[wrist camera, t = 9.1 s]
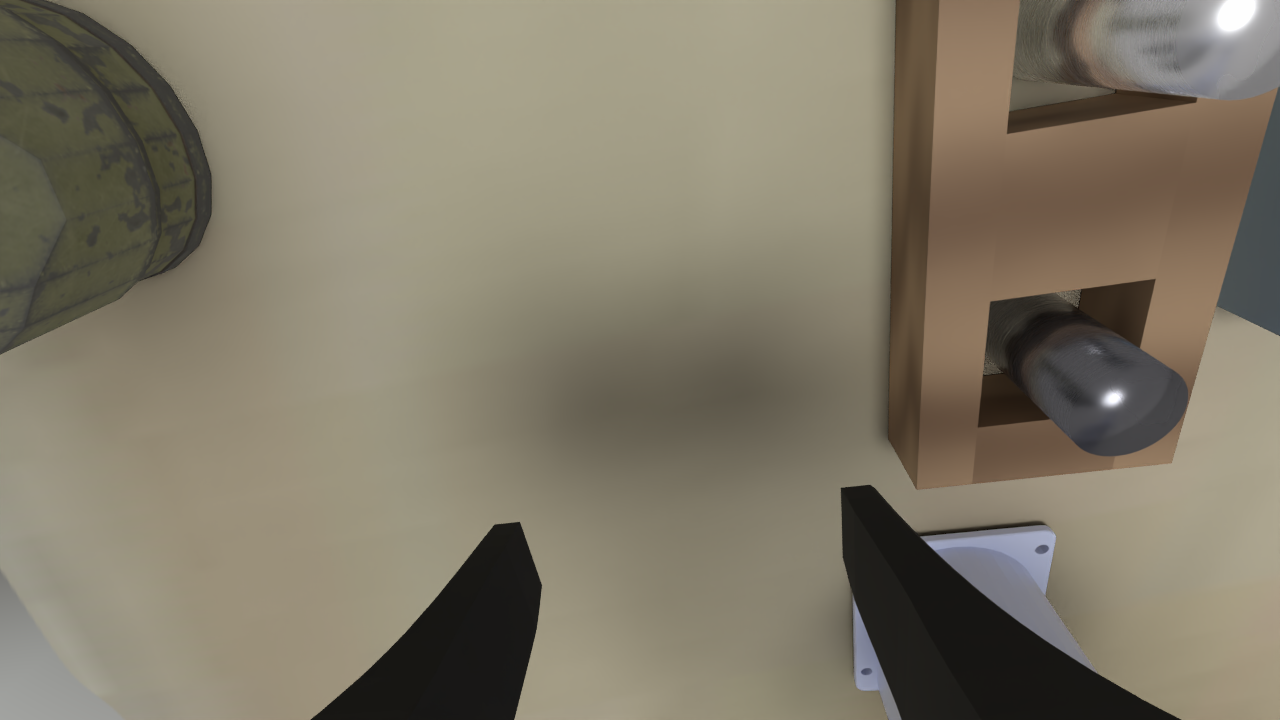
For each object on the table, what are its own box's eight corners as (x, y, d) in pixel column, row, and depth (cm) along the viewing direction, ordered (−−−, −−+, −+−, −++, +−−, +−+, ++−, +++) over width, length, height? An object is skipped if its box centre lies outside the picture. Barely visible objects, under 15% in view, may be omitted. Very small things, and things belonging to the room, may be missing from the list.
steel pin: (1095, 64, 17) (1337, 76, 11) (990, 91, 18) (1167, 118, 11) (1102, -50, 16) (1381, -110, 10) (990, -18, 16) (1188, -56, 10)
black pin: (1047, 348, 21) (1174, 450, 16) (964, 358, 22) (1061, 462, 16) (1058, 273, 20) (1201, 357, 15) (970, 285, 20) (1077, 372, 15)
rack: (1111, 413, 22) (1171, 463, 20) (888, 438, 23) (916, 489, 21) (1250, -228, 14) (1385, -290, 12) (899, -149, 15) (948, -190, 12)
